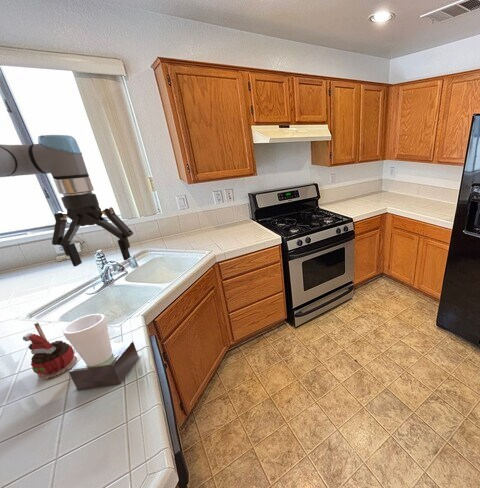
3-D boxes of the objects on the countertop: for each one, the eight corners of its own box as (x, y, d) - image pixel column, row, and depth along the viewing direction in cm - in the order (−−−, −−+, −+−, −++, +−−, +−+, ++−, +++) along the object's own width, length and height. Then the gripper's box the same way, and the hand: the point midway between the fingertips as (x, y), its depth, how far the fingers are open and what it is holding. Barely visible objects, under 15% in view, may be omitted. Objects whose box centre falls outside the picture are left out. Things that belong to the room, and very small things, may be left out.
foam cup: (85, 354, 83) (69, 319, 78) (120, 343, 86) (107, 310, 82) (74, 375, 75) (56, 337, 70) (114, 362, 78) (99, 326, 74)
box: (77, 390, 78) (68, 371, 76) (101, 362, 89) (93, 345, 86) (120, 383, 80) (112, 365, 77) (139, 357, 90) (132, 340, 88)
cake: (86, 357, 92) (66, 313, 85) (61, 379, 83) (37, 332, 77) (56, 358, 92) (35, 315, 86) (28, 380, 83) (1, 334, 77)
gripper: (132, 188, 81) (151, 252, 88) (36, 195, 76) (64, 262, 83) (120, 191, 74) (142, 260, 81) (13, 199, 69) (47, 272, 76)
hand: (103, 261), depth 82 cm, fingers open, 13 cm apart
